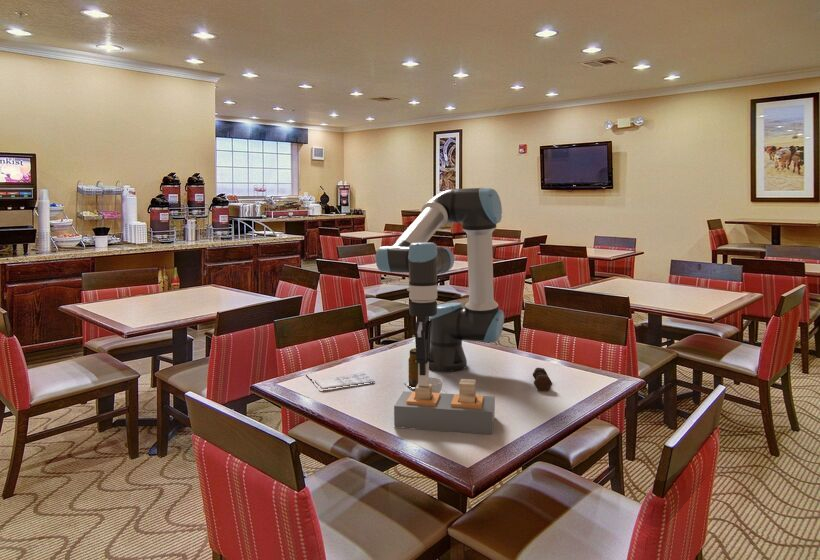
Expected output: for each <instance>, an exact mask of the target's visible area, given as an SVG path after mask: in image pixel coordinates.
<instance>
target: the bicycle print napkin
mask: <svg viewBox="0 0 820 560" xmlns="http://www.w3.org/2000/svg"><path fill="white" fill-rule="evenodd" d="M344 379H348V380H344ZM338 380H339V381H338ZM314 381H315V383H316V384H317V385H318V386H320V388H321V389H328V388H336V387H343V386H350V385H358V384H364V383H371V382H372V383H375V382H376V380H375V379H373V378H372V377H370V375H368V374H367V373H366V372H365V371H360V372H359V373H356V374H350V375H346V376H340V377H333V378H323V379H315V380H314Z"/></svg>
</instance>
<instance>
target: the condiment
mask: <svg viewBox="0 0 820 560" xmlns="http://www.w3.org/2000/svg"><path fill="white" fill-rule="evenodd" d="M415 361H416V347H415V348H410V350H409V358H408V382H409V386H411V387H416V386H417V384H418V363H415ZM411 387H408V388H409V389H410V388H411ZM410 390H411V391H414V390H413V389H412V388H411V389H410Z"/></svg>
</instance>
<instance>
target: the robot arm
mask: <svg viewBox="0 0 820 560" xmlns="http://www.w3.org/2000/svg"><path fill="white" fill-rule="evenodd" d="M502 213H503V208H502V201H501V197H500V196H499V194H498V191H496V189H493V188H491V187H487V188H486V187H474V188H473V187H472V188H451V189H447V190H444V191H441V192H440V193H438V194H436V195H434V196H433V197H432V198H430V199H429V200H428V201H426V202H425V204H424V205H423V206H422V207H421V211H420V214H419V215H418V216H417V217H416V218H415V219H414V221H412V223H411V224H410V225H408V226H407V228H406V229H405V230H404V231H403V232H402V233H401V235H400V236H399V237H398V238H397V239H396V241H394V242H393V244H392V245H390V246H389V245H386V246H385V245H384V246H380V247H379V248H378V249H377V251H376V253H375V264H376V268H377V269H378V270H379V271H381V272H386V273H391V274H392V273H402V274H408V287H407V288H406V291H407V292H409V293H408V296H409V297H408V298H409V300H410V301H409V302H408V311H409V312H408V313H409V315H410V316H412V317H416V321H415V322H414V330H413V333H414V338H415V348H416V361H415V363H418V386H427V387H428V385H429V377H430V370H431V371H437V372H457V371H461V370H464V369H466V368H467V366H468V361H467V357H466V354H465V351H464V348H463V341H469V342H479V343H484V344H486V343H489V344H490V343H491V344H492V343H496V342H497V341H498V340H499V339H500V338H501V336H502V332H503V328H504V324H505V312H504V311H503V310H502V309H499V303H498V302H497V301H495V298H494V266H493V265H494V259H493V255H494V254H493V232H494V231H495V230H496V229H497V224H499V223H501V220H502V217H503V216H502ZM446 224H461V229H462V231H463V232H464V233H466V247H467V248H466V249H467V272H468V277H467V278H468V299H469V300H468V301H467V302H466V303H465V306H464V307H463V304H462V303H461V302H446V303H440V304H438V302H437V299H438V275H442V274H443V275H444V274H446V273H447V272H449V271H450V270H452V268H453V266H454V264H455V256H454V253H453V252H452V250H450V248H447V247H446V246H438V245H437V244H436V243H435V242H428V241H429V240H430V239H431V238H432V237H433V236H434V234H435V233H436V232H437V230H438V229H441V228H443V227H444V226H445V225H446Z"/></svg>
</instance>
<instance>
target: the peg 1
mask: <svg viewBox="0 0 820 560" xmlns="http://www.w3.org/2000/svg"><path fill="white" fill-rule="evenodd" d="M414 392H415V400H431V399H432V384H429V385H428V387H427V386H418V384H417V386H416V387H415V390H414Z"/></svg>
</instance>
